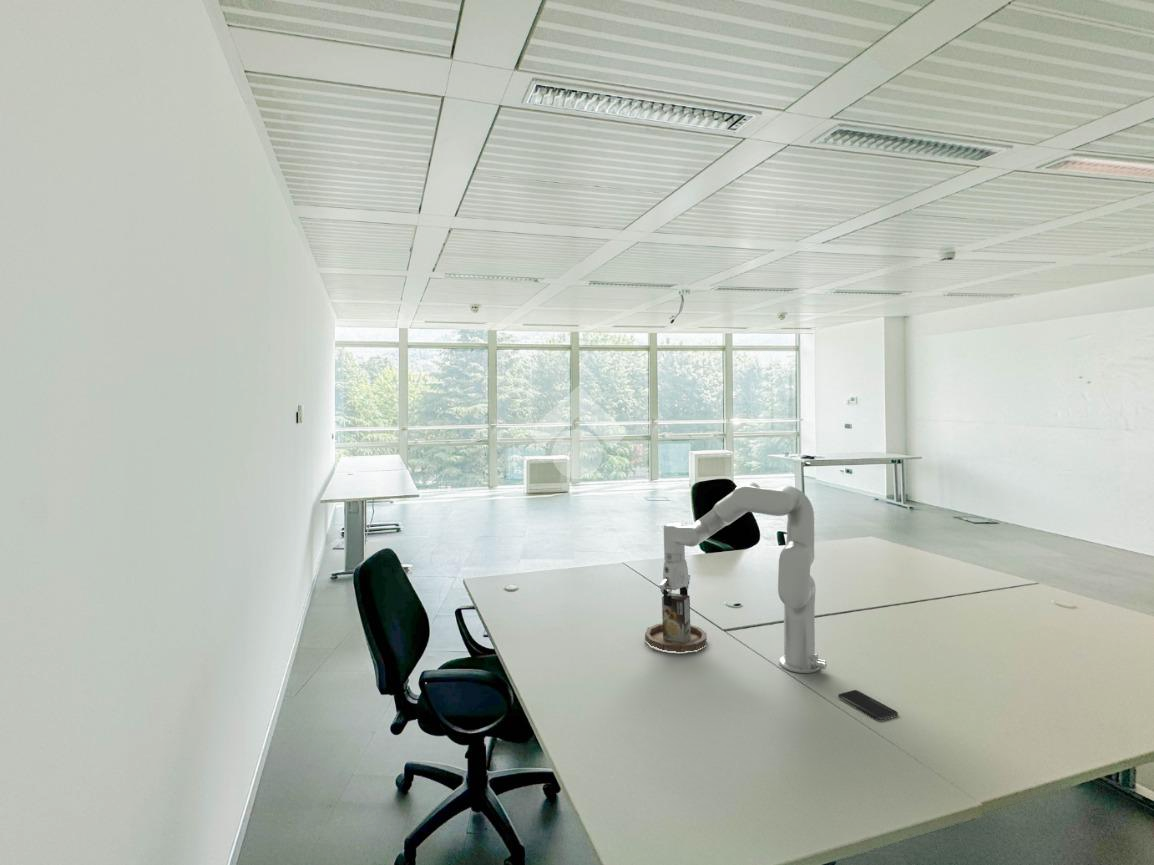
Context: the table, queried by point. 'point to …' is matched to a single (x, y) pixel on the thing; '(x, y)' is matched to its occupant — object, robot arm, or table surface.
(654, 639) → the round tray
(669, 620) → the coffee box
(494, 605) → the table surface
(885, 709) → the phone
